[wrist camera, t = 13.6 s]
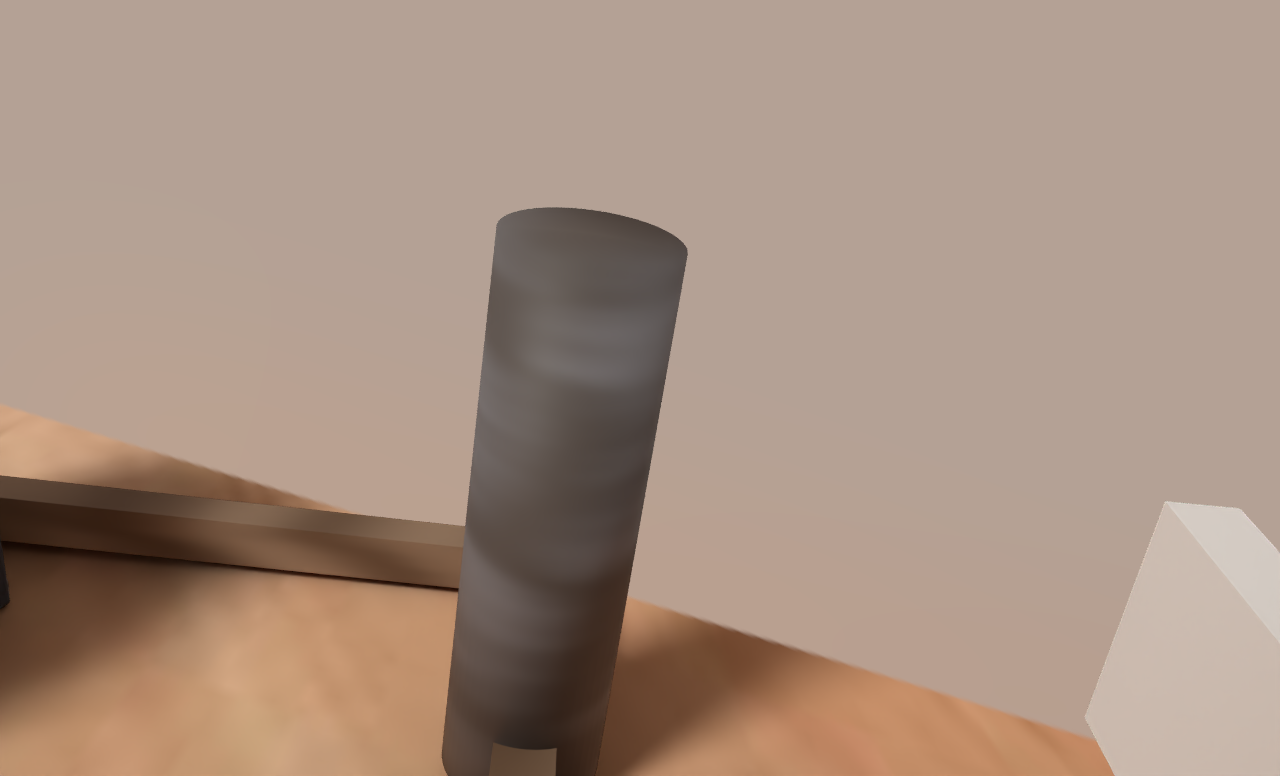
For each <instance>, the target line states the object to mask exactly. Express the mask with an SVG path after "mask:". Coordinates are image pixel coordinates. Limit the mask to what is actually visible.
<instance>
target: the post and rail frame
mask: <svg viewBox="0 0 1280 776" xmlns="http://www.w3.org/2000/svg"><path fill="white" fill-rule="evenodd" d="M687 255H688V254H687V248H686V246H685V245H684V244H683V242H681V241H680V240H679V239H678V238H677V237H675V236H674V235H672V234H671V233H669V232H667V231H665V230H663V229H661V228H659V227H656V226H654V225H651V224H649V223H646V222H642V221H639V220H636V219H633V218H629V217H625V216H621V215H616V214H612V213H607V212H601V211H594V210H586V209H576V208H534V209H527V210H521V211H517V212H513V213H511V214H508V215H506V216H504V217H503V218H501V219H500V220H499V221H498V223H497V227H496V237H495V246H494V256H493V266H492V275H491V285H490V294H489V305H488V314H487V323H486V333H485V342H484V353H483V362H482V371H481V381H480V390H479V400H478V410H477V419H476V429H475V439H474V448H473V458H472V467H471V478H470V486H469V496H468V506H467V516H466V525H465V526H456V525H448V524H439V523H430V522H420V521H411V520H402V519H392V518H384V517H375V516H366V515H357V514H348V513H338V512H329V511H320V510H311V509H302V508H293V507H284V506H274V505H265V504H256V503H247V502H238V501H229V500H220V499H210V498H201V497H192V496H183V495H174V494H165V493H156V492H147V491H137V490H128V489H119V488H110V487H101V486H92V485H83V484H73V483H64V482H55V481H46V480H37V479H28V478H19V477H10V476H0V539H1V540H2V541H11V542H21V543H30V544H40V545H50V546H59V547H69V548H78V549H88V550H98V551H107V552H117V553H126V554H136V555H145V556H155V557H165V558H174V559H184V560H193V561H203V562H213V563H222V564H232V565H241V566H251V567H260V568H270V569H280V570H289V571H299V572H308V573H318V574H328V575H337V576H347V577H356V578H366V579H375V580H385V581H395V582H404V583H414V584H423V585H433V586H442V587H452V588H459V592H458V602H457V611H456V621H455V630H454V640H453V650H452V659H451V669H450V678H449V688H448V698H447V707H446V717H445V726H444V736H443V746H442V761H443V765H444V768H445V771H446V773H447V775H448V776H595V773H596V769H597V764H598V758H599V753H600V747H601V741H602V736H603V730H604V724H605V719H606V713H607V707H608V702H609V696H610V690H611V685H612V679H613V673H614V668H615V662H616V656H617V651H618V645H619V639H620V634H621V628H622V622H623V617H624V611H625V605H626V600H627V594H628V588H629V583H630V577H631V571H632V566H633V560H634V554H635V549H636V543H637V537H638V532H639V526H640V521H641V515H642V509H643V503H644V498H645V492H646V487H647V480H648V475H649V470H650V463H651V458H652V453H653V447H654V441H655V435H656V430H657V424H658V419H659V413H660V407H661V402H662V396H663V390H664V385H665V379H666V373H667V367H668V361H669V356H670V351H671V344H672V339H673V334H674V328H675V322H676V317H677V311H678V305H679V300H680V294H681V289H682V283H683V277H684V272H685V266H686V260H687Z"/></svg>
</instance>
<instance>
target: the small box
mask: <svg viewBox="0 0 1280 776" xmlns="http://www.w3.org/2000/svg"><path fill="white" fill-rule="evenodd" d="M9 602H10V598H9V585H8V581H7V578H6V571H5V565H4V558H3V551H2V545H1V539H0V609H1V608H2V607H4V606H5V605H7V604H8V603H9Z"/></svg>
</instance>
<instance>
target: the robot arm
mask: <svg viewBox="0 0 1280 776" xmlns="http://www.w3.org/2000/svg"><path fill="white" fill-rule="evenodd" d="M1085 720H1086V722H1087V723H1088V725H1089V727H1090V729H1091V731H1092V733H1093V735H1094V737H1095V739H1096V741H1097V743H1098V744H1099V746H1100V748H1101V750H1102V752H1103V754H1104V756H1105V758H1106V760H1107V762H1108V764H1109V765H1110V767H1111V769H1112V771H1113V773H1114V775H1115V776H1280V552H1279V551H1278V550H1277V549H1276V548H1275V547H1274V546H1273V545H1272V543H1270V541H1269V540H1268V539H1267V538H1266V537H1265V536H1264V535H1263V534H1262V532H1261V531H1260V530H1259V529H1258V528H1257V527H1256V526H1255V525H1254V524H1253V522H1252V521H1251V520H1250V519H1249V518H1248V517H1247V516H1246V515H1245V514H1244V513H1243V511H1242V510H1241V509H1239V508H1229V507H1219V506H1209V505H1198V504H1188V503H1177V502H1167V501H1166V502H1165V503H1164V506H1163V509H1162V511H1161V514H1160V517H1159V519H1158V522H1157V525H1156V528H1155V530H1154V533H1153V535H1152V538H1151V541H1150V543H1149V546H1148V549H1147V551H1146V554H1145V557H1144V560H1143V562H1142V565H1141V568H1140V570H1139V573H1138V576H1137V578H1136V581H1135V584H1134V587H1133V589H1132V592H1131V594H1130V597H1129V600H1128V602H1127V605H1126V608H1125V611H1124V613H1123V616H1122V619H1121V621H1120V624H1119V627H1118V629H1117V632H1116V635H1115V637H1114V640H1113V643H1112V645H1111V648H1110V651H1109V653H1108V656H1107V659H1106V661H1105V664H1104V667H1103V669H1102V672H1101V675H1100V678H1099V680H1098V683H1097V686H1096V688H1095V691H1094V694H1093V696H1092V699H1091V702H1090V705H1089V707H1088V710H1087V712H1086V715H1085Z"/></svg>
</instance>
